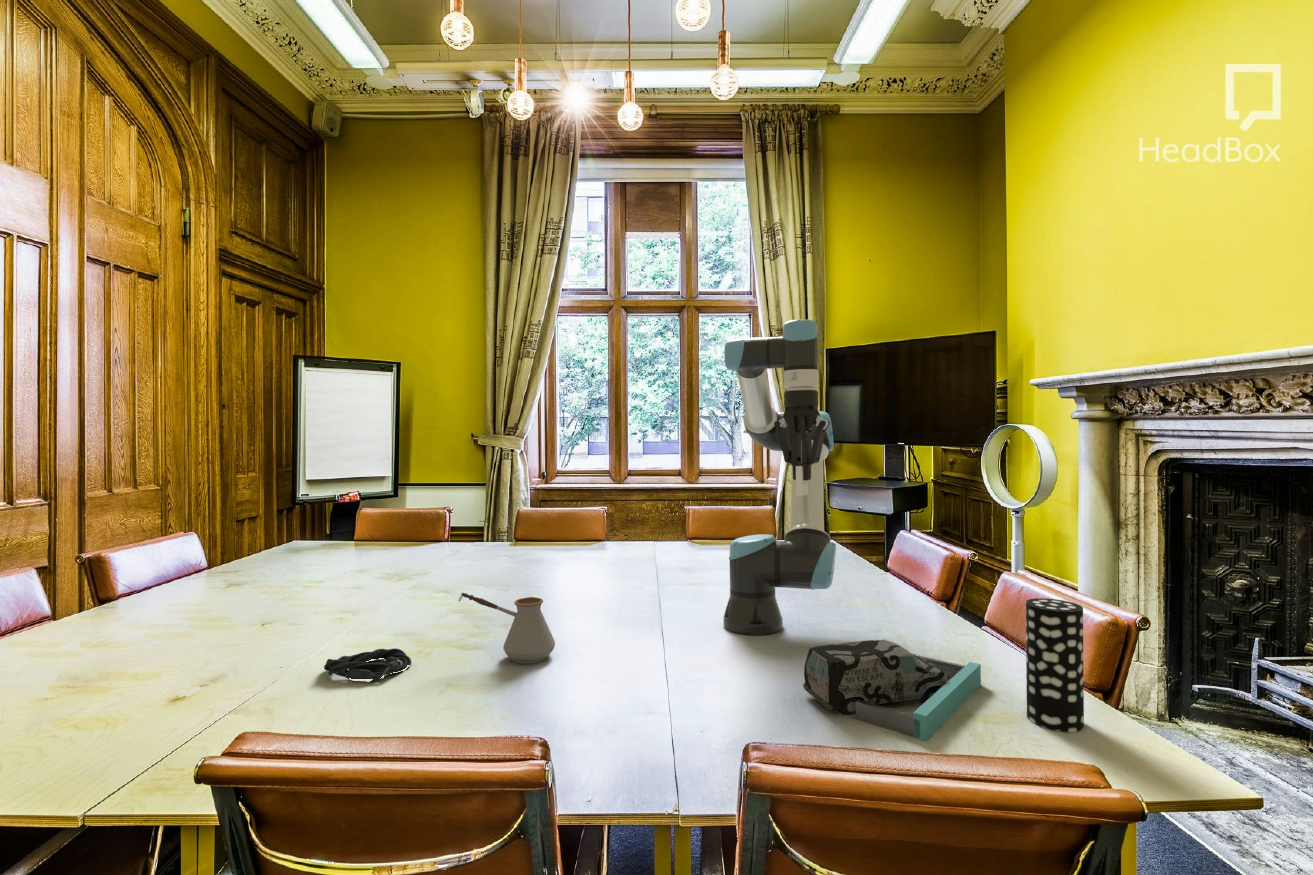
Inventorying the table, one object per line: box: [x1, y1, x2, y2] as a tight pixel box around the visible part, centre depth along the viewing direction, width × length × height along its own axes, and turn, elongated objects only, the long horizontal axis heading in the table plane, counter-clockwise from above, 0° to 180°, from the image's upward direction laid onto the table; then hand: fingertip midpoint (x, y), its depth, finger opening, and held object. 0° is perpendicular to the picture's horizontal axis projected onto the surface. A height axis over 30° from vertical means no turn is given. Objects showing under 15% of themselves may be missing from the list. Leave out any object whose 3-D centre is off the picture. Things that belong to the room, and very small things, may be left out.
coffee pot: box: [458, 592, 556, 665], centre depth 142 cm, size 21×12×15 cm, turn 91°
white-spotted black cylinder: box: [1025, 597, 1085, 733], centre depth 108 cm, size 8×8×20 cm
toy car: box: [802, 639, 948, 716], centre depth 118 cm, size 11×25×10 cm, turn 104°
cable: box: [323, 647, 412, 680], centre depth 135 cm, size 17×14×4 cm
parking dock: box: [855, 654, 982, 741], centre depth 117 cm, size 12×30×4 cm, turn 138°
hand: (802, 494), depth 141 cm, fingers closed
